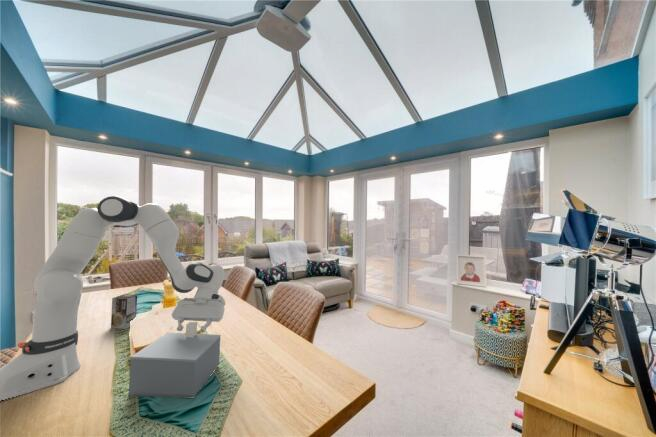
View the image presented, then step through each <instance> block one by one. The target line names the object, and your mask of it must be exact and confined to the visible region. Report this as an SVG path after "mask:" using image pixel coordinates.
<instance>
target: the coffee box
mask: <svg viewBox="0 0 656 437" xmlns="http://www.w3.org/2000/svg"><path fill="white" fill-rule="evenodd" d="M137 305H138V295H135V294H134V295H133V294H120V295H118V296H116V297H115V296H114V297H112V298H111V320H110V322H111V323H110V328H111V329H119V330H120V329H121V330H122V329H123V330H127V329H129V328H131V327H130V321H131V320H133V319H134V318H135V317H136V318H137V307H138V306H137Z"/></svg>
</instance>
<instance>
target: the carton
mask: <svg viewBox="0 0 656 437" xmlns="http://www.w3.org/2000/svg"><path fill="white" fill-rule="evenodd" d="M220 350H221V337H220V338H219V339H218V340H217V341H216V342H215V343H214V344H213V345H212V346H211V347H210V348H209V349H208V350H207V351H206V352H205V353H204V354H203V355H202V356H201V357H200V358H199V359H198V360H197V361H196V362H182V361H160V360H139V359H131V358H130V366H129V378H128V380H129V381H128V396H131V397H132V396H133V397H137V396H138V397H149V398H150V397H151V398H152V397H153V398H154V397H155V398H171V397H183V398H182V399H187V398H186V397H194V396H195V395H196V394H197V392H198V391H199V390H200V388H201V387H202V386H203V385H204V383H205V382H206V381H207V380H208V378H209V377H210V375H211V374H212V373H213V371H214V370H215V369H216V368H217V366H218V365H219V366H220ZM217 369H218V368H217ZM213 374H214V373H213ZM210 378H211V377H210ZM210 378H209V379H210ZM208 381H209V380H208ZM208 381H207V382H208ZM207 382H206V383H207ZM204 386H205V385H204ZM204 386H203V387H204ZM203 387H202V388H203ZM200 391H201V390H200ZM200 391H199V392H200ZM199 392H198V393H199ZM197 395H198V394H197ZM197 395H196V396H197ZM196 396H195V397H196ZM184 397H185V398H184Z"/></svg>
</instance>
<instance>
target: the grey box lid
mask: <svg viewBox="0 0 656 437" xmlns="http://www.w3.org/2000/svg"><path fill="white" fill-rule="evenodd" d="M219 338H220V339H221V334H212V333H211V334H209V333H206V334H205V333H198V321H188V323H187V324H186V326H185V333H184V332H183V333H182V332H165V333H164V334H163V335H162V336H160V337H159V338H157V339H155V340H154V341H152V342H151V343H150V344H148V345H146V346H145V347H143V348H142V349H140V350H139V351H137V352H136V353H134V354H133V355H131V356H130V360H131V359H139V360H160V361H182V362H196V361H197V360H198V359H199V358H200V357H201V356H202V355H203V354H204V353H205V352H206V351H207V350H208V349H209V348H210V347H211V346H212V345H213V344H214V343H215V342H216V341H217V340H218V339H219Z"/></svg>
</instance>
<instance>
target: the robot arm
mask: <svg viewBox="0 0 656 437" xmlns="http://www.w3.org/2000/svg"><path fill="white" fill-rule="evenodd" d="M138 225H139V226H141V228H142V229H143V231H144V232H145V234H146V235H147V236H148V238H149V239H150V241H151V243H152V244H153V246H154V248H155V251H156V254H157V255H158V257H159V259H160V261H161V263H162V265H163V266H164V268H165V270H166V271H167V273H168V275H169V277H170V281H171V286H172V289H174V290H175V291H176V292H178V293H180V294H181V293H182V294H187V293H190V292H192V291H193V290H194V289H195V288H197V290H196V292H195V294H194V296H193V297H184V298H182V299H180V300H179V301H178V303H177V305H176V306H175V308H174V310H173V311H172V313H171V317H172V318H173V319H174V321H177V327H176V330H177V331H178V332H182V331H183V329H184V326H183V323H184V322H185V321H188V322H206V323H205V324H204V325H202V326H200V329H199V332H201V333H205V332H206V331H207V328H208V327H210V326H211V325H212V323H213V322H214V323H215V322H216V323H217V322H218V323H219V322H221V321H222V319H223V318H224V313H225V305H226V299H225V298H224V296H222V295H221V294H219V290H220V289H221V287H222V285H223V282H224V279H225V274H226V272H225V269H224V267H222V266H220V265H219V264H216V263H215V264H204V263H202V262H200V261H194V262H191V263H190V264H188V265H187V266H186V267H184V266H183V263H182V262H181V260H180V258H179V256H178V255H177V253H176V249H177V248H176V247H177V244H178V243H177V242H178V240H179V237H180V231H179V228H178V226H177V224H176V223H175V221H174V220H173V219H172V217H171V215H169V214H168V213H167V211H165V209H164V208H163V207H162V206H160V205H159V204H157V203H153V202H152V203H151V202H149V203H146V204H144V205H143V204H142V205H141V206H140V205H138V204H137V203H136V202H134V201H131V200H129V199H127V198H124V197H122V196H114V195H112V196H111V195H110V196H107V197H104V198H103V199H101V200H100V201H99V203H98V204H97V208H95V207H86V208H82V209H81V210H79V211H78V212H77V213H76V215H74V217H73V218H72V220H71V221H70V222H69V224H68V225H67V227H66V228H65V230H64V232H63V234H62V235H61V238H59V239H60V240H59V241H58V243H57V244H56V246H55V248H54V250H53V251H52V253H51V255H50V256H49V257H48V258H47V260H46V262H45V263H44V264H43V266H42V268H41V269H40V270H39V271H38V274H37V275H36V276H35V278H34V282H33V286H34V289H35V290H36V301H35V307H34V308H35V309H34V313H33V314H34V315H33V319H32V332H31V333H32V334H31V339H30V340H28V341H25V340H21V341H20V342H19V343H17V347H18V348H19V349H21V353H20V354H19V355H17V356H15V357H14V358H12V359H11V360H10V361H9V362H7V363H6V364H4V365H3V366H1V367H0V401H1V400H4V399H7V400H9V399H8V398H10V399H13V398H12V397H14V398H16V396H17V397H19V396H18V395H20V396H23V395H25V393H26V394H29V393H31V392H32V393H33V392H34V391H37V390H41V389H44V388H47V387H50V386H53V385H56V384H60V383H63V382H65V381H66V379H67V378H68V377H69V376H70V375H72V374H74V373H76V371H77V370H79V368H80V367H81V364H80V361H79V358H78V357H79V356H78V352H77V345H78V342H79V330H77V329H78V328H77V327H78V326H77V325H78V312H79V306H80V303H81V298H82V294H83V293H82V292H83V288H84V281H83V278H82V277H81V274H82V273H83V271H84V269H85V268H86V266H87V265H88V264H89V262H90V261H91V260H92V259H93V257H94V256H95V254H96V252H97V250H98V248H99V246H100V244H101V242H102V240H103V237H104V236H105V233H106V232H107V231H108V229H110V228H111V227H113V228H114V227H115V228H130V227H133V228H134V227H135V226H138ZM22 394H23V395H22ZM4 401H5V400H4ZM1 402H2V401H1Z"/></svg>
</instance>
